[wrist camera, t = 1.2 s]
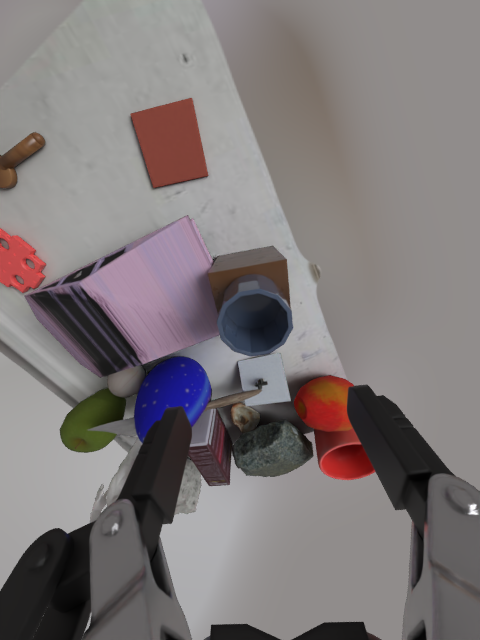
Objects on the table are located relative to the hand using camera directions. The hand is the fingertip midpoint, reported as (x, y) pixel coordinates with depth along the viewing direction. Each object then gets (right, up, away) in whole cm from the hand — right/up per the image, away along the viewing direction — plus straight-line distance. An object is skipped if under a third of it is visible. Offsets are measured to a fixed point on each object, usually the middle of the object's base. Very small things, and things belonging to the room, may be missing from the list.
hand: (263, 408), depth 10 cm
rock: (+1, -27, +37) cm, 46 cm away
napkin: (-9, +25, +14) cm, 30 cm away
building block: (-34, +13, +20) cm, 42 cm away
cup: (0, +6, +12) cm, 14 cm away
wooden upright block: (0, +11, +21) cm, 24 cm away
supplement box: (-9, -14, +28) cm, 33 cm away
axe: (-9, -7, +20) cm, 23 cm away
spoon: (-28, +24, +15) cm, 40 cm away
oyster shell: (-2, -18, +32) cm, 36 cm away
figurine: (+3, -6, +26) cm, 27 cm away
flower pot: (+18, -16, +35) cm, 42 cm away
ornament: (-12, -4, +29) cm, 31 cm away
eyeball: (-22, -4, +25) cm, 34 cm away
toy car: (-15, +8, +23) cm, 29 cm away
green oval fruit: (-26, -10, +32) cm, 43 cm away
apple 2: (+8, -10, +24) cm, 27 cm away
